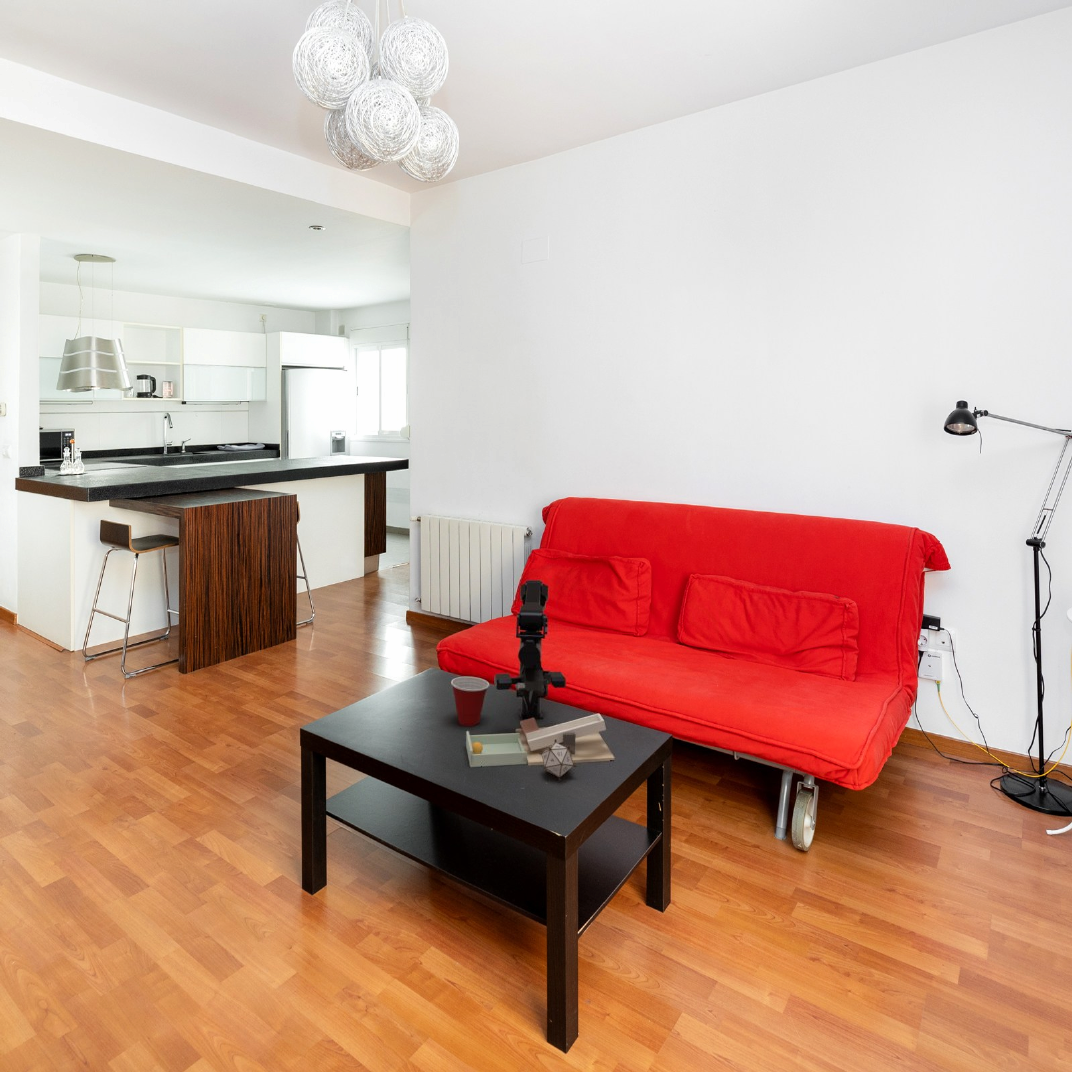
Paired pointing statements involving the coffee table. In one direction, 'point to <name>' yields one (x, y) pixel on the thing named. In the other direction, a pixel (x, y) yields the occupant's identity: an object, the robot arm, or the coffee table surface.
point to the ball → (477, 748)
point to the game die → (557, 759)
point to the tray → (496, 750)
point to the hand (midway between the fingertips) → (529, 711)
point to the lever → (560, 730)
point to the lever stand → (572, 748)
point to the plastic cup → (469, 698)
